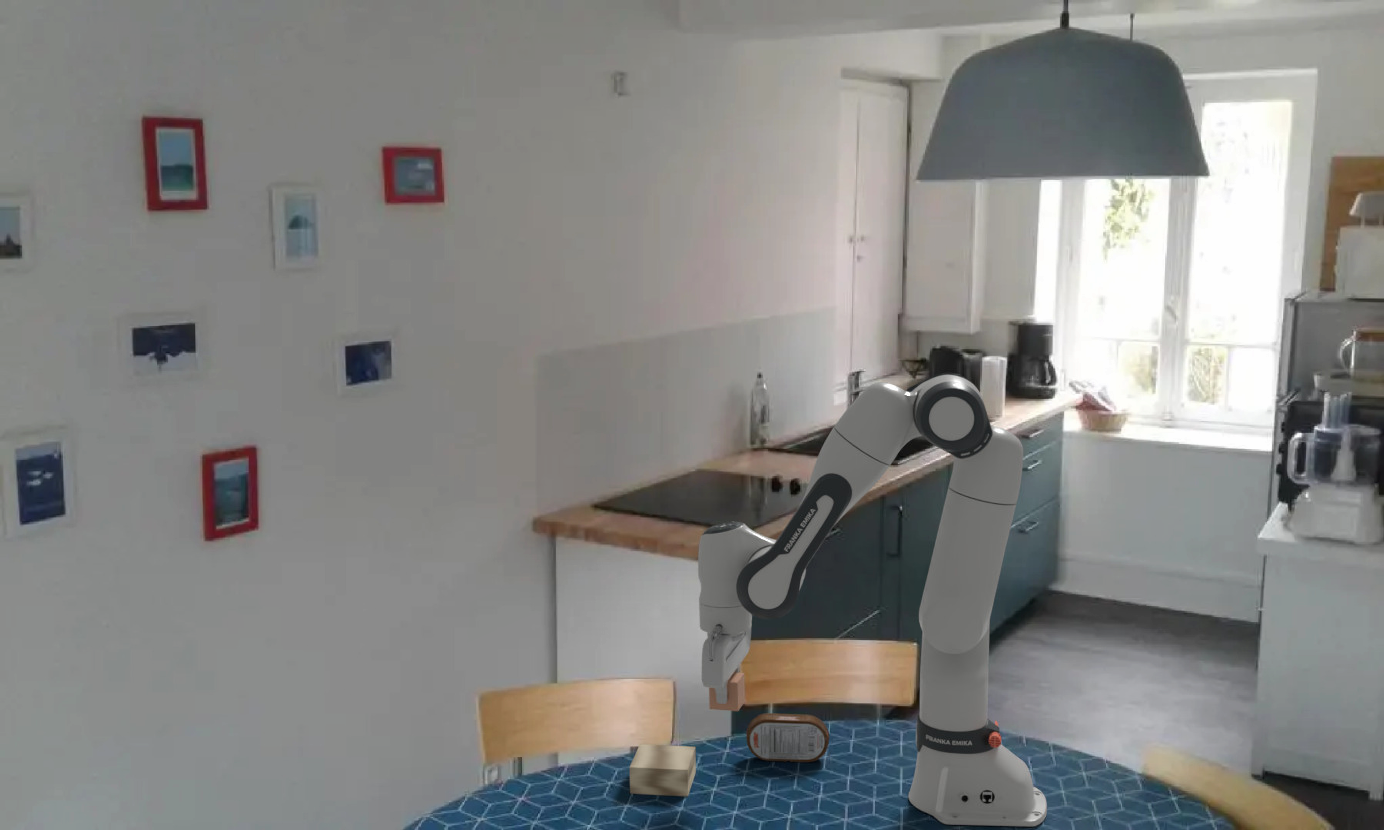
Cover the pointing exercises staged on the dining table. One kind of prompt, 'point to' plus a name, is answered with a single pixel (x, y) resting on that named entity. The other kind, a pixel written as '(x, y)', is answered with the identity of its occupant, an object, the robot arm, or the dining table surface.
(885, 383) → the robot arm
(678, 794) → the base block
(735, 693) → the cube
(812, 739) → the tin
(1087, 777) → the dining table surface
